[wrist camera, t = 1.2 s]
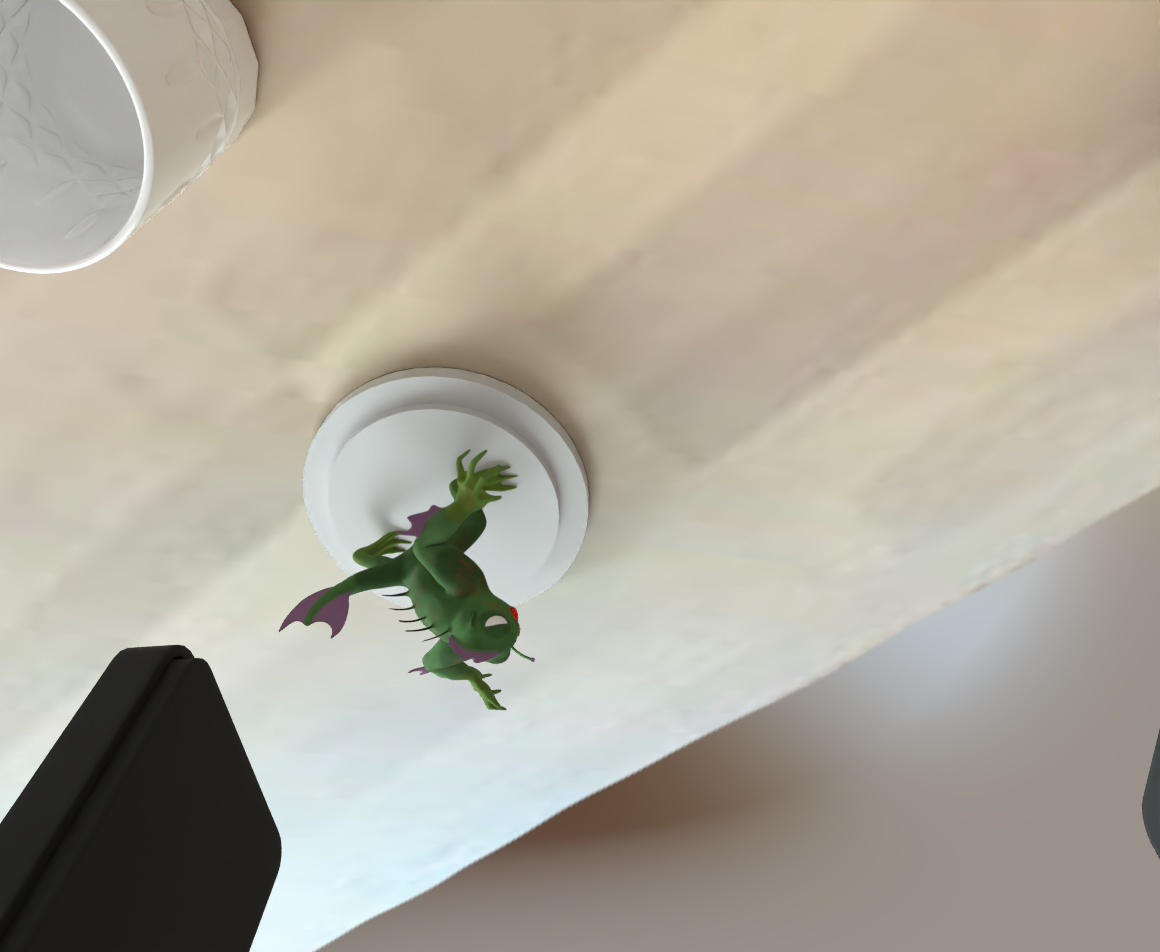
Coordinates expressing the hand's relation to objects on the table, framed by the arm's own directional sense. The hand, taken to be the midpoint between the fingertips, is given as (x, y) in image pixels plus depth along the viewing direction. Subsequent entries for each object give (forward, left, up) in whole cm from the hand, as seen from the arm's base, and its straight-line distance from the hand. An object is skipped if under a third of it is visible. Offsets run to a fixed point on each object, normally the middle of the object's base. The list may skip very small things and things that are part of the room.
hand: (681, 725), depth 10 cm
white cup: (-1, -17, -28) cm, 33 cm away
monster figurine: (+16, -8, -28) cm, 33 cm away
